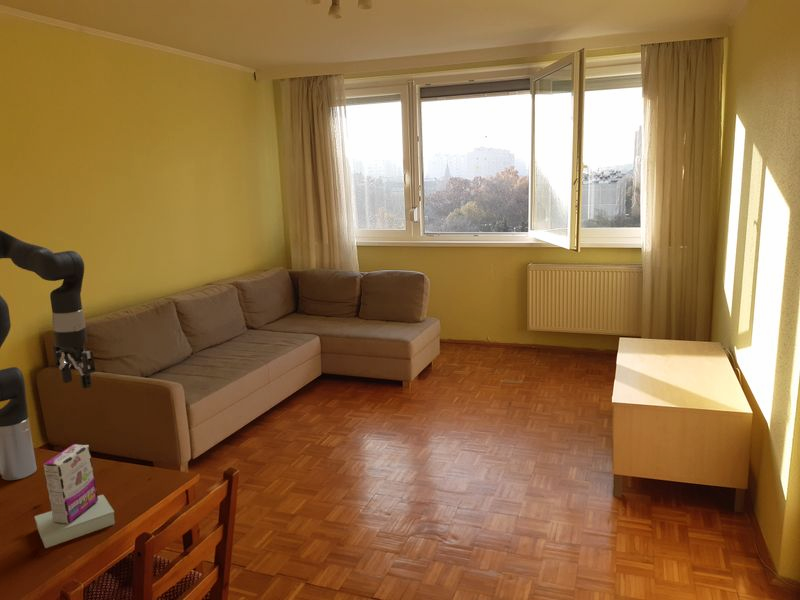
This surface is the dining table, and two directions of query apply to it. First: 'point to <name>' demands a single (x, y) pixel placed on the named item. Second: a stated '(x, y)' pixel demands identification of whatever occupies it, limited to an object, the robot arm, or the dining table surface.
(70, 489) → the candy bar box
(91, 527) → the keepsake box
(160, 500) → the dining table surface
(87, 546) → the dining table surface
